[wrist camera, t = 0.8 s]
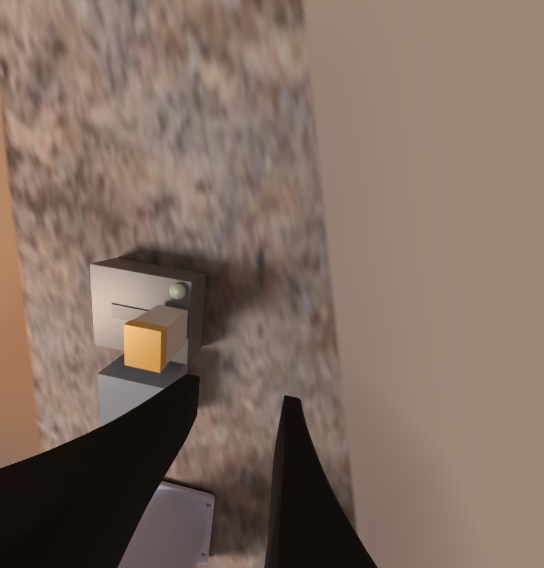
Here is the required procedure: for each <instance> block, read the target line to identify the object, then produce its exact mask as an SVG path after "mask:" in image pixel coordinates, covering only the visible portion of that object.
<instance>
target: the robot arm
mask: <svg viewBox="0 0 544 568" xmlns="http://www.w3.org/2000/svg"><path fill="white" fill-rule="evenodd" d="M199 380H200V377H199V376H194V375H189V374H185V375H184V376H182V377H181V378H179V379H178V380H176V381H175V382H173V383H172V384H170V385H169V386H168V387H166V388H165V389H163V390H162V391H160V392H159V393H157V394H156V395H154V396H153V397H151V398H149V399H148V400H146V401H145V402H143V403H142V404H140V405H138V406H137V407H135V408H133V409H132V410H130V411H128V412H127V413H125V414H123V415H122V416H120V417H118V418H116V419H115V420H113V421H111V422H109V423H107V424H105V425H103V426H101V427H99V428H97V429H95V430H93V431H91V432H89V433H87V434H85V435H83V436H81V437H78V438H76V439H74V440H72V441H69V442H67V443H65V444H62V445H60V446H58V447H56V448H53V449H51V450H49V451H46V452H44V453H41V454H39V455H36V456H33V457H31V458H28V459H25V460H23V461H20V462H17V463H14V464H12V465H9V466H6V467H3V468H0V568H195V567H196V564H197V562H198V563H201V564H206V563H207V562H208V558H209V550H210V541H211V532H212V523H213V514H214V505H215V497H214V495H213V494H210V493H206V492H203V491H199V490H195V489H191V488H187V487H183V486H180V485H176V484H172V483H168V482H164V481H162V480H163V478H164V476H165V475H166V473H167V471H168V470H169V468H170V466H171V465H172V463H173V461H174V459H175V458H176V456H177V454H178V453H179V451H180V449H181V447H182V446H183V444H184V442H185V440H186V439H187V436H188V434H189V432H190V430H191V428H192V425H193V423H194V421H195V419H196V416H197V407H198V394H199ZM264 568H377V566H376V564H375V563H374V561H373V560H372V558H371V557H370V555H369V554H368V552H367V551H366V549H365V547H364V546H363V544H362V542H361V540H360V539H359V537H358V535H357V534H356V532H355V530H354V529H353V527H352V525H351V524H350V522H349V520H348V518H347V517H346V515H345V513H344V511H343V509H342V508H341V506H340V504H339V502H338V500H337V498H336V496H335V494H334V492H333V490H332V488H331V486H330V484H329V482H328V480H327V477H326V475H325V473H324V471H323V468H322V466H321V464H320V461H319V459H318V456H317V454H316V451H315V449H314V446H313V443H312V440H311V437H310V434H309V431H308V428H307V425H306V421H305V418H304V414H303V409H302V404H301V400H300V399H299V398H296V397H291V396H286V395H284V401H283V406H282V412H281V417H280V422H279V428H278V433H277V439H276V446H275V452H274V459H273V473H272V488H271V504H270V520H269V533H268V544H267V551H266V559H265V566H264Z"/></svg>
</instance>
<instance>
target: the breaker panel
mask: <svg viewBox="0 0 544 568" xmlns="http://www.w3.org/2000/svg"><path fill="white" fill-rule="evenodd" d="M90 275H91V292H92V309H93V326H94V343H95V345H98V346H102V347H107V348H112V349H117V350H121V351H124V324H125V323H126V322H128V321H130V320H134V319H136V318H137V317H139V316H141V315H142V314H144V313H146V312H147V311H149V310H151V309H152V308H154V307H156V306H157V305H163V306H168V307H173V308H178V309H183V310H188V319H187V338H186V344H185V345H184V346H183V348H182V349H181V350H180V351H179V352H178V353H177V354H176V355H175V356H174V357H173V358H172V359H171V360H170V361H173V362H178V363H182V364H188V363H189V361H190V360H191V359H192V358H193V356H194V355H195V354H196V353H197V351H198V350H199V349H200V348H201V344H202V330H203V317H204V303H205V289H206V275H207V273H201V272H195V271H190V270H184V269H178V268H173V267H167V266H161V265H156V264H150V263H144V262H139V261H133V260H127V259H122V258H113V259H109V260H105V261H100V262H96V263H92V264H90Z"/></svg>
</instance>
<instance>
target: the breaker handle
mask: <svg viewBox="0 0 544 568" xmlns="http://www.w3.org/2000/svg"><path fill="white" fill-rule="evenodd" d="M187 319H188V310H183V309H178V308H173V307H168V306H163V305H157V306H156V307H154V308H152V309H151V310H149V311H147V312H146V313H144V314H142V315H141V316H139V317H137V318H136V319H134V320H130V321H128V322H126V323H125V324H124V365H126V366H131V367H135V368H140V369H144V370H149V371H153V372H158V373H161V372H162V371H163V369H164V368H165V367H166V364H167V363H168V362H169V361H170V360H171V359H172V358H173V357H174V356H175V355H176V354H177V353H178V352H179V351H180V350H181V349H182V348H183V346H184V345H185V344H186V338H187Z"/></svg>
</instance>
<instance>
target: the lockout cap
mask: <svg viewBox="0 0 544 568" xmlns="http://www.w3.org/2000/svg"><path fill="white" fill-rule="evenodd" d="M185 374H188V364H182V363H178V362H173V361H169V362H168V363H167V364H166V367H165V368H164V369H163V371H162V372H161V373H158V372H153V371H149V370H144V369H140V368H135V367H131V366H126V365H124V354H123V355H122V356H120V357H119V358H118V359H116V360H115V361H114V362H112V363H111V364H110V365H108V366H107V367H106V368H104V369H103V370H102V371H100V372H99V373H98V391H99V408H100V425H101V426H103V425H105V424H107V423H109V422H111V421H113V420H115V419H116V418H118V417H120V416H122V415H123V414H125V413H127V412H128V411H130V410H132V409H133V408H135V407H137V406H138V405H140V404H142V403H143V402H145V401H146V400H148V399H149V398H151V397H153V396H154V395H156V394H157V393H159V392H160V391H162V390H163V389H165V388H166V387H168V386H169V385H170V384H172V383H173V382H175V381H176V380H178V379H179V378H181V377H182V376H184V375H185Z"/></svg>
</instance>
